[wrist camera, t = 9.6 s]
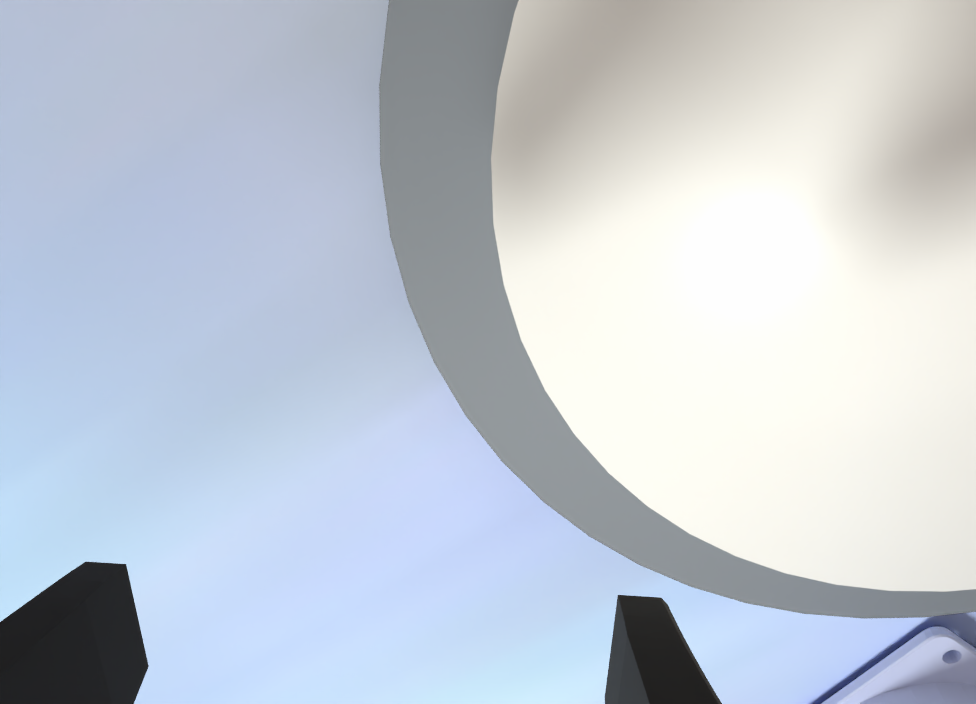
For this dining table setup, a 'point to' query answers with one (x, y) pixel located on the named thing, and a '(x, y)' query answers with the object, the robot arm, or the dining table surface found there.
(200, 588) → the dining table surface
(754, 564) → the stand base
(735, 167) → the dial
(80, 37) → the dining table surface
